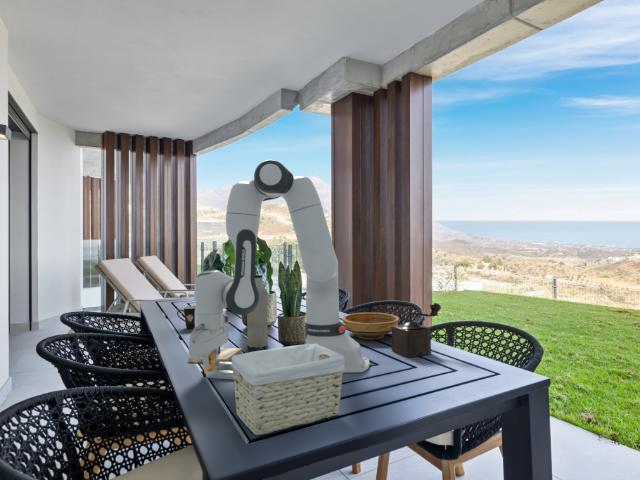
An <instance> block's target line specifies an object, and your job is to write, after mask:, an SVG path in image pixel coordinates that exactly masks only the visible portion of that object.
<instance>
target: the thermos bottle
mask: <svg viewBox="0 0 640 480" xmlns="http://www.w3.org/2000/svg"><path fill="white" fill-rule="evenodd" d="M255 284H256V287H257V290H258V293H259V302H258V305H257V307H256V308H255V309H254V310H253V311H252V312H251V313H249V314H246V321H247V322H246V323H247V326H246V327H247V329H246V331H247V336H246V337H247V347H248V346H249V348H252V347H255V348H258V347H259V348H265V347H267V346H268V344H269V343H268V342H269V337H268V332H269V330H268V293H267V292H268V289H267V288H266V283H265V282H264V279H263V275H262V274H255ZM264 346H265V347H264ZM255 348H254V349H255Z"/></svg>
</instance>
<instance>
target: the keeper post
mask: <svg viewBox="0 0 640 480" xmlns="http://www.w3.org/2000/svg"><path fill="white" fill-rule="evenodd" d="M239 354H243V348H241V347H239V348H238V347H237V348H236V347H221V346H220V347H218V354H217V361H216V364H218V363H219V362H232V357H233V356H234V355H239ZM188 363H202V364H203V361H202V359H201V358H190V356H188Z"/></svg>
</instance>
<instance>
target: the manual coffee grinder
mask: <svg viewBox="0 0 640 480" xmlns="http://www.w3.org/2000/svg"><path fill="white" fill-rule="evenodd" d="M429 308H430V310H431V311H430V313H427V314H426V313H423V312H421V313H420V312H413V307H411V306H409V307H408V312H407V313H408V316H409V318H408V319H409V320H408V321H406V322H403V324H398V325H397V326H392V332H391V352H393V353H395V354H398V355H400V356H403V357H405V358H409V359H411V358H417V357H422V356H426V355H429V354H432V340H431V338H432V337H431V335H432V334H431V332H432V331H431V327H427V326H424V325H420V324H419V323H418V322H416V321H413V316H420V317H421V316H422V317H427V318H430V317H432V318H434V317H438V316H439V315H438V313H439V312H440V311H441V309H442V306H441V304H440V303H436V302H432V303H430V304H429ZM412 315H413V316H412Z"/></svg>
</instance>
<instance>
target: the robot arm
mask: <svg viewBox="0 0 640 480" xmlns="http://www.w3.org/2000/svg"><path fill="white" fill-rule="evenodd" d="M279 198H283V199H284V201H285V203H286V205H287V207H288V212H289V216H290V219H291V223H292V226H293V229H294V233H295V236H296V242H297V246H298V249H299V253H300V258H301V261H302V266H303V269H304V272H305V275H306V285H305V286H306V289H305V291H306V293H305V318H306V319H305V321H306V322H305V323H304V336H305V345H306V344H318V345H320V346H323V347H325V348H327V349H330V350H332V351H334V352H336V353H338V354H340V355H343V356H344V371H343V374H346V373H363V372H366V371H367V370H368V369H369V368H370V359H369V358H367V357H365V356H364V354H363V350H362V349H363V348H362V346H361V345H360V343H359V342H357V341H356V340H355V339H354V338H352V337H351V336H349V335H348V334H347V333H346V328H345V323H343V322H341V321H340V300H339V299H340V296H339V295H340V292H339V291H340V290H339V259H338V257H337V254H336V251H335V248H334V244H333V240H332V237H331V234H330V230H329V226H328V223H327V219H326V216H325V213H324V209H323V206H322V202H321V199H320V196H319V194H318V191H317V188H316V187H315V185H314V183H313V181H312V180H311V178H309V177H307V176H305V175H304V176H303V175H300V176H299V175H298V176H294V175H293V173H292V172H291V171H289V170H288V168H287V167H286V166H285V165H284V164H282V163H281V162H279V161H277V160H276V159H266V160H264V161H262V162H260V163H259V164H258V165H256V168H255V170H254V173H253V179H252V180H251V181H239V182H236V183H234V184H233V185H232V187H231V190H230V192H229V196H228V201H227V205H226V212H225V230H226V234H227V237H228V239H229V240H230V242H231V243H232V246H233V250H234V267H233V268H234V269H233V277H232V276H230V275H227V274H225V273H223V272H222V271H220V270H219V269H211V270H206V271H203V272H200V273H198V275H196V277H195V280H194V290H193V299H194V303H195V306H196V308H195V328H194V329H192V331H191V334H190V336H189V340H188V355H189V356H188V357H190V358H201V359H202V361H203V363H202V366H203V368H204V367H208V366H210V360H209V359H208V356H209V353H210V352H215V357H216V361H217V354H218V347H220V348H221V346H223V345H225V344H227V343H228V341H229V332H230V331H229V321H230V315H227V314H225V313H224V309H226V308H228V309H229V311H230V312H231V313H233V314H234V315H237V316H245V315H246V316H247V314H249V313H251V312H252V311H253V310H254V309H255V308H256V307H257V305H258V302H259V293H258V290H257V287H256V284H255V275H256V255H257V242H258V235H259V229H260V221H261V209H262V204H263V202H265V201H271V200H276V199H279ZM320 360H323V358H322V359H321V357H320Z"/></svg>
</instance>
